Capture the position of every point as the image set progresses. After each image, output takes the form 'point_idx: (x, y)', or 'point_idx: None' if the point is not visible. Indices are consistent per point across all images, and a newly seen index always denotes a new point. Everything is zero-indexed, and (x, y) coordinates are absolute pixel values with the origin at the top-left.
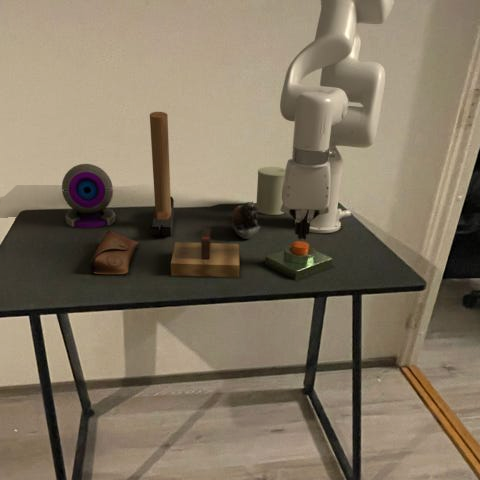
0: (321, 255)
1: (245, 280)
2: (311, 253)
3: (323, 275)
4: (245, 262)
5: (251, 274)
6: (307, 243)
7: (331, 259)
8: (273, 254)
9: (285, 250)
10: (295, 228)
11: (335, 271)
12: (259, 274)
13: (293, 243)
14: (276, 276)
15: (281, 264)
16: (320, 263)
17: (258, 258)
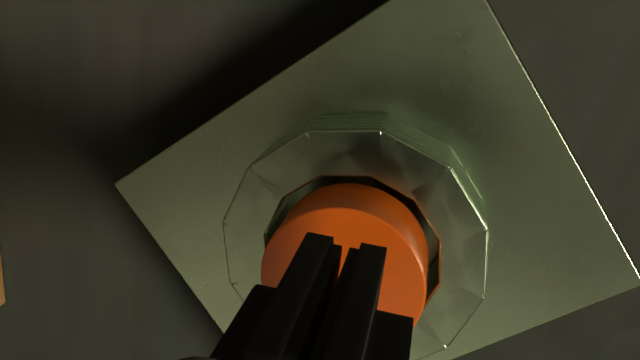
0: (568, 221)
1: (40, 334)
2: (432, 338)
3: (501, 357)
4: (29, 111)
5: (68, 275)
6: (417, 276)
7: (633, 282)
8: (171, 159)
9: (226, 252)
10: (245, 304)
11: (619, 319)
12: (111, 282)
13: (279, 257)
14: (202, 320)
15: (211, 315)
16: (502, 337)
17: (110, 52)
